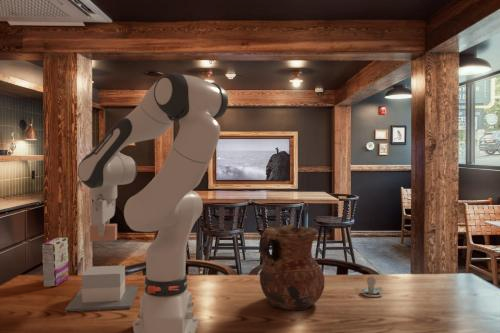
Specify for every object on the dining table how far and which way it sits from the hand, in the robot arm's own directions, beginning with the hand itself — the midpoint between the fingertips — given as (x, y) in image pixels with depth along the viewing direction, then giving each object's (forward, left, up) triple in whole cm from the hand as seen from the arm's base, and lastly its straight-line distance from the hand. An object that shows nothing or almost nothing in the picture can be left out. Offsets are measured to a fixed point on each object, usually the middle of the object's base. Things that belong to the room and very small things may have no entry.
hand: (103, 234), depth 138 cm
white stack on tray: (0, 0, -22) cm, 22 cm away
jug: (-13, -62, -23) cm, 67 cm away
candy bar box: (+21, +22, -23) cm, 38 cm away
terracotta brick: (0, 0, -2) cm, 2 cm away
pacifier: (-9, -92, -23) cm, 95 cm away
